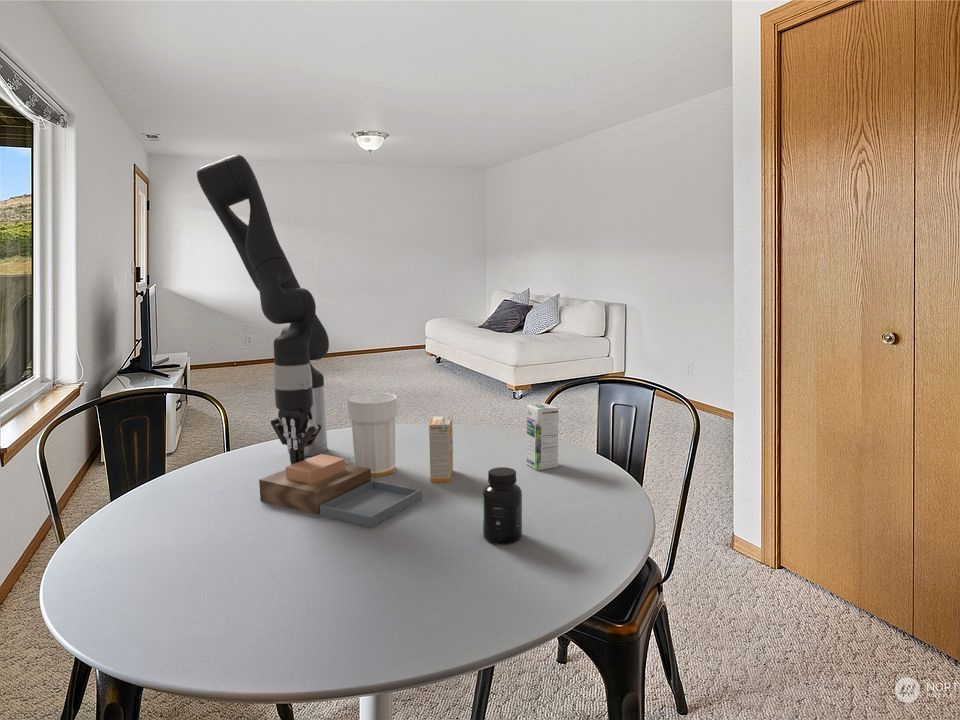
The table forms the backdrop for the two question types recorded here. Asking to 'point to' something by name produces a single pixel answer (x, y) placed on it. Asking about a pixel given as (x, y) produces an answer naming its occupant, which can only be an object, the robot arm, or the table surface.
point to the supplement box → (441, 448)
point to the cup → (374, 431)
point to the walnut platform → (311, 488)
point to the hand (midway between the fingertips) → (297, 465)
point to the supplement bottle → (502, 507)
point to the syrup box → (542, 436)
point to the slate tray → (370, 503)
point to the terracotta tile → (315, 468)
